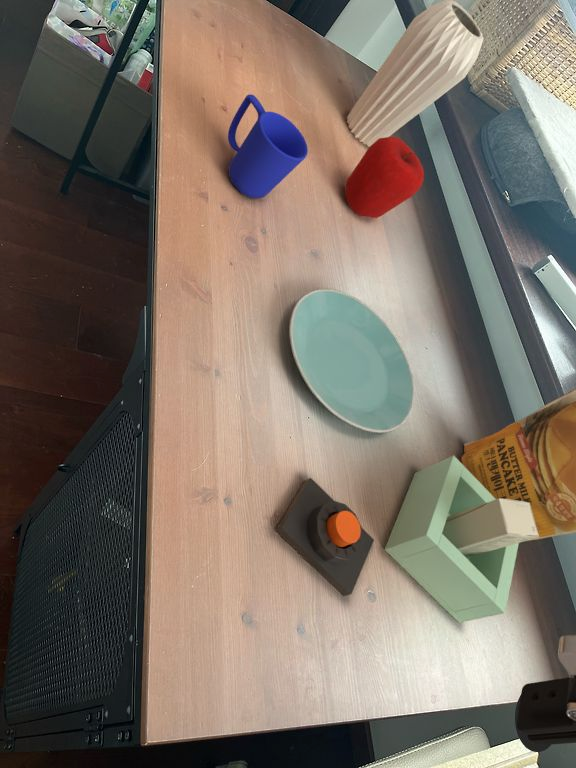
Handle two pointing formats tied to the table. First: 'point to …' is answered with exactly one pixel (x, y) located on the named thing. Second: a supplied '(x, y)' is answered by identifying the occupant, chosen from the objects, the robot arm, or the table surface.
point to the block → (323, 537)
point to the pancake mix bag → (533, 464)
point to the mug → (264, 151)
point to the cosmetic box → (490, 526)
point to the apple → (384, 178)
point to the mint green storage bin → (450, 544)
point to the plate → (351, 361)
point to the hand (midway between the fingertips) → (527, 714)
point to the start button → (343, 528)
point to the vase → (417, 71)
